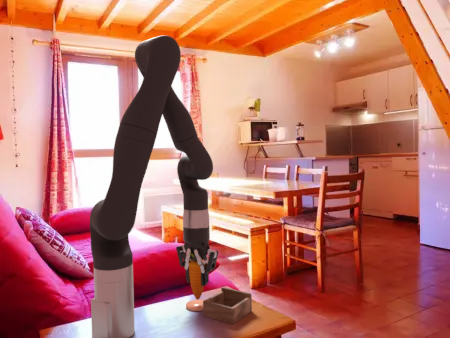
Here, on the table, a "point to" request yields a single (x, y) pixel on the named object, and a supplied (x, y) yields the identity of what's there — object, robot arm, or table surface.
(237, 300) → the brown open box
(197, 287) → the carrot
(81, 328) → the table surface
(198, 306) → the peach dome
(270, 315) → the table surface
